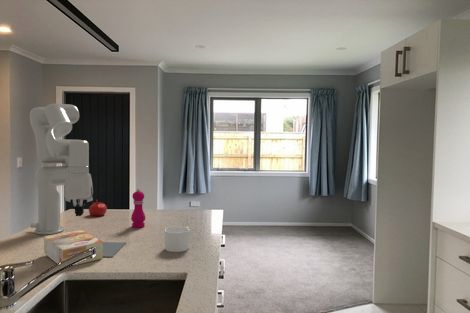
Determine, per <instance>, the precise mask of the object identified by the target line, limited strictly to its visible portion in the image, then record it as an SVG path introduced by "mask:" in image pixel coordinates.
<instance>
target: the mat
mask: <svg viewBox="0 0 470 313" xmlns="http://www.w3.org/2000/svg"><path fill="white" fill-rule="evenodd" d="M126 244H127V242H118V241H117V242H114V241H113V242H112V241H111V242H110V241H109V242H108V241H107V242H106V241H105V242H103V258H114V256H116V254H118V253H119V252H120V250H122V248H124V246H125V245H126Z"/></svg>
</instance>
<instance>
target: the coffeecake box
mask: <svg viewBox="0 0 470 313" xmlns="http://www.w3.org/2000/svg"><path fill="white" fill-rule="evenodd" d="M43 240H44V241H43V244H44V245H43V253H44V254H45V255H46V256H47V257H48V258H49V259H51V260H52V261H53V262H55V264H57V265H58V263H60V262H62V261H64V260H66V259H68V258H70V257H72V256H73V255H76V254H78V253H80V252H83V251H85V250H87V249H89V248H91V247H96V256H95V257H94V258H93V259H86V260H83V261H81V262H78V263H77V264H74V265H73V266H78V265H81V264H86V263H91V262H93V261H97V260H102V259H103V258H104V257H103V241H102V240H100V239H99V238H97V237H96V236H93V235H91V234H90V233H88V232H86V231H84V230H83V229H79V230H73V231H69V232H68V231H67V232H60V233H55V234H50V235H46V236H45V235H44V237H43ZM73 266H72V267H73Z"/></svg>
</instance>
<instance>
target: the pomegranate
mask: <svg viewBox="0 0 470 313" xmlns="http://www.w3.org/2000/svg"><path fill="white" fill-rule="evenodd" d="M95 201H96V202H93V201H92V204H91V205H90V206H89V207H88V212H89V215H90V216H91V217H102V216H104V215H105V214H106V213H107V212H108V211H107V210H108V207H107V205H106V204H105V203H103V202H102V201H100V202H98V201H99V200H98V199H95Z"/></svg>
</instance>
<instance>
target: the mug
mask: <svg viewBox="0 0 470 313" xmlns="http://www.w3.org/2000/svg"><path fill="white" fill-rule="evenodd" d="M190 234H191V227H190V226H171V227H166V228H165V229H164V247H165V248H164V250H165V251H167V252H170V253H171V252H172V253H180V252H181V253H183V252H186V251H188V250H189V249H190Z"/></svg>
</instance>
